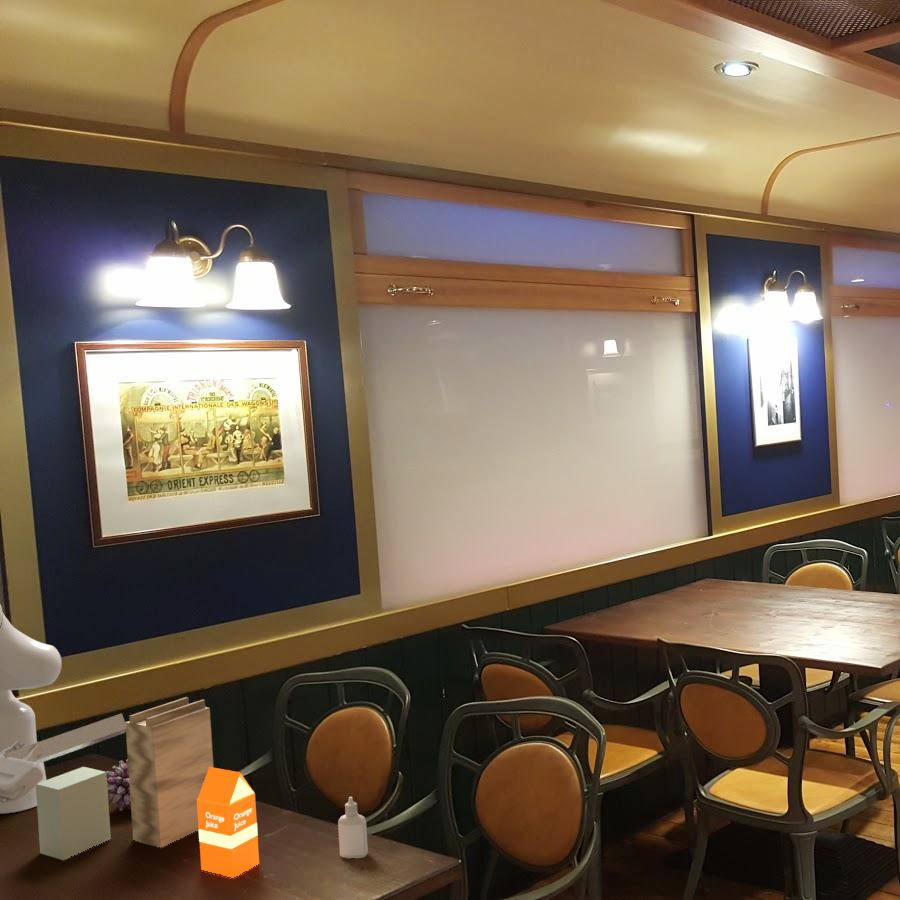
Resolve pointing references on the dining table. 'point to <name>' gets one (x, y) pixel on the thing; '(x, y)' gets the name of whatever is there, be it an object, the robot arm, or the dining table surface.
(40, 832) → the sage block
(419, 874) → the dining table surface
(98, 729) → the steel bar
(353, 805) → the eye dropper bottle
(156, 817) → the oak stand
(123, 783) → the flower
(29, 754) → the robot arm
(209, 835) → the orange juice
